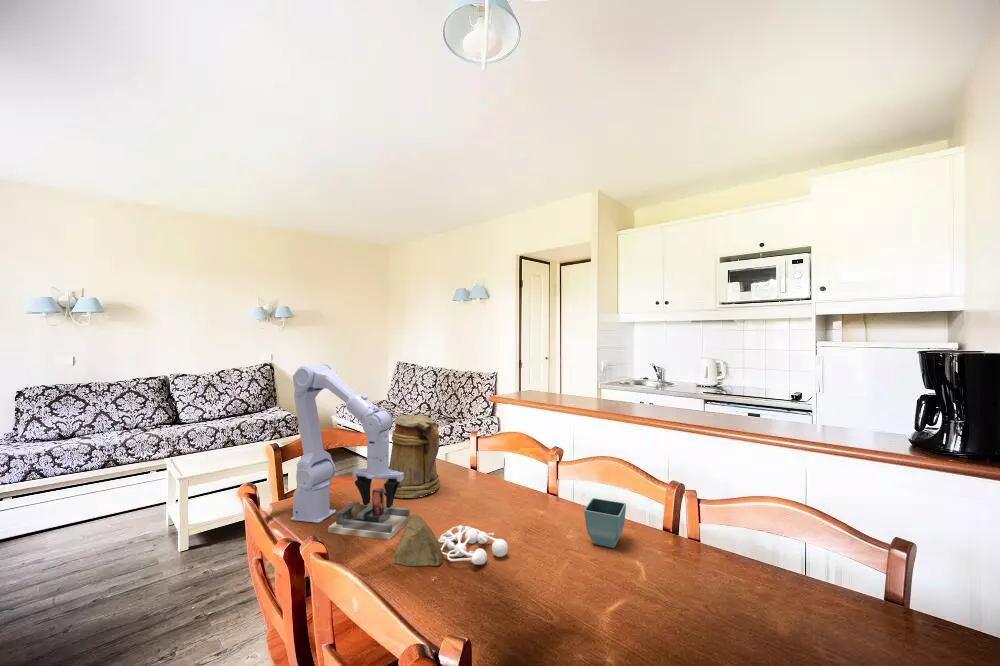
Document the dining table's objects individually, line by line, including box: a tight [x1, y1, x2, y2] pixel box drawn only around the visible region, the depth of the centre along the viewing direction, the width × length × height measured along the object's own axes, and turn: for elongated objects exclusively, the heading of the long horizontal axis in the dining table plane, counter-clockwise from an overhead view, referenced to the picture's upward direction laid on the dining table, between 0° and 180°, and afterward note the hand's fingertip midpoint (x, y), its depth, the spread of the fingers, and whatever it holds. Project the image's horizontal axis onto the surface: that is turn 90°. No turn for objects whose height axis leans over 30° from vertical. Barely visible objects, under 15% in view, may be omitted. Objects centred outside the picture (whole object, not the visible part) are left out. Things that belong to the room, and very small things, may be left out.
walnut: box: [351, 503, 365, 520], centre depth 112 cm, size 4×4×4 cm
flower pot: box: [583, 497, 627, 549], centre depth 102 cm, size 9×9×9 cm
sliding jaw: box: [357, 487, 390, 523], centre depth 111 cm, size 6×8×8 cm
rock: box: [392, 513, 444, 567], centre depth 93 cm, size 11×9×10 cm
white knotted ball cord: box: [437, 524, 509, 566], centre depth 99 cm, size 19×14×4 cm
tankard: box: [383, 414, 441, 499], centre depth 138 cm, size 18×24×25 cm
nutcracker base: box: [327, 501, 411, 541], centre depth 112 cm, size 18×12×4 cm, turn 76°
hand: (378, 505), depth 111 cm, fingers open, 6 cm apart
